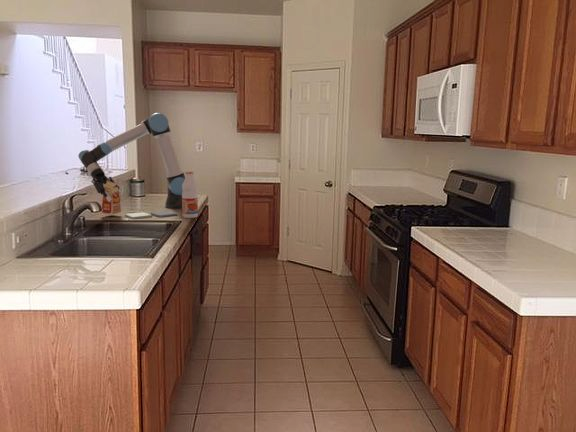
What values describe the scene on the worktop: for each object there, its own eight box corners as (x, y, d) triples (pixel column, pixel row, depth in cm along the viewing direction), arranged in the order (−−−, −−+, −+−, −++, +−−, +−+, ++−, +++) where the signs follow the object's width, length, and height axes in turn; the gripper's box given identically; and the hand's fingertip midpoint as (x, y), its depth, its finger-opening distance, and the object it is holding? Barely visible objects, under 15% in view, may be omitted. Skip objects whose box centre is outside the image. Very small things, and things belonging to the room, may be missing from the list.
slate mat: (168, 212, 313) (168, 210, 312) (177, 215, 304) (177, 213, 304) (150, 214, 305) (150, 212, 305) (159, 217, 296) (159, 215, 296)
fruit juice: (189, 215, 306) (188, 170, 301) (201, 216, 302) (200, 171, 297) (179, 217, 298) (178, 171, 293) (191, 218, 293) (190, 172, 288)
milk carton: (101, 213, 294) (99, 181, 290) (110, 211, 302) (109, 179, 299) (113, 214, 291) (111, 181, 287) (123, 212, 300) (121, 180, 296)
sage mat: (143, 214, 306) (143, 212, 306) (151, 216, 297) (151, 214, 297) (124, 216, 298) (124, 214, 298) (133, 218, 289) (133, 217, 289)
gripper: (106, 174, 309) (126, 201, 304) (79, 177, 292) (99, 206, 287) (112, 166, 306) (131, 193, 301) (84, 168, 288) (104, 197, 283)
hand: (115, 199), depth 294 cm, fingers closed on milk carton, 8 cm apart
